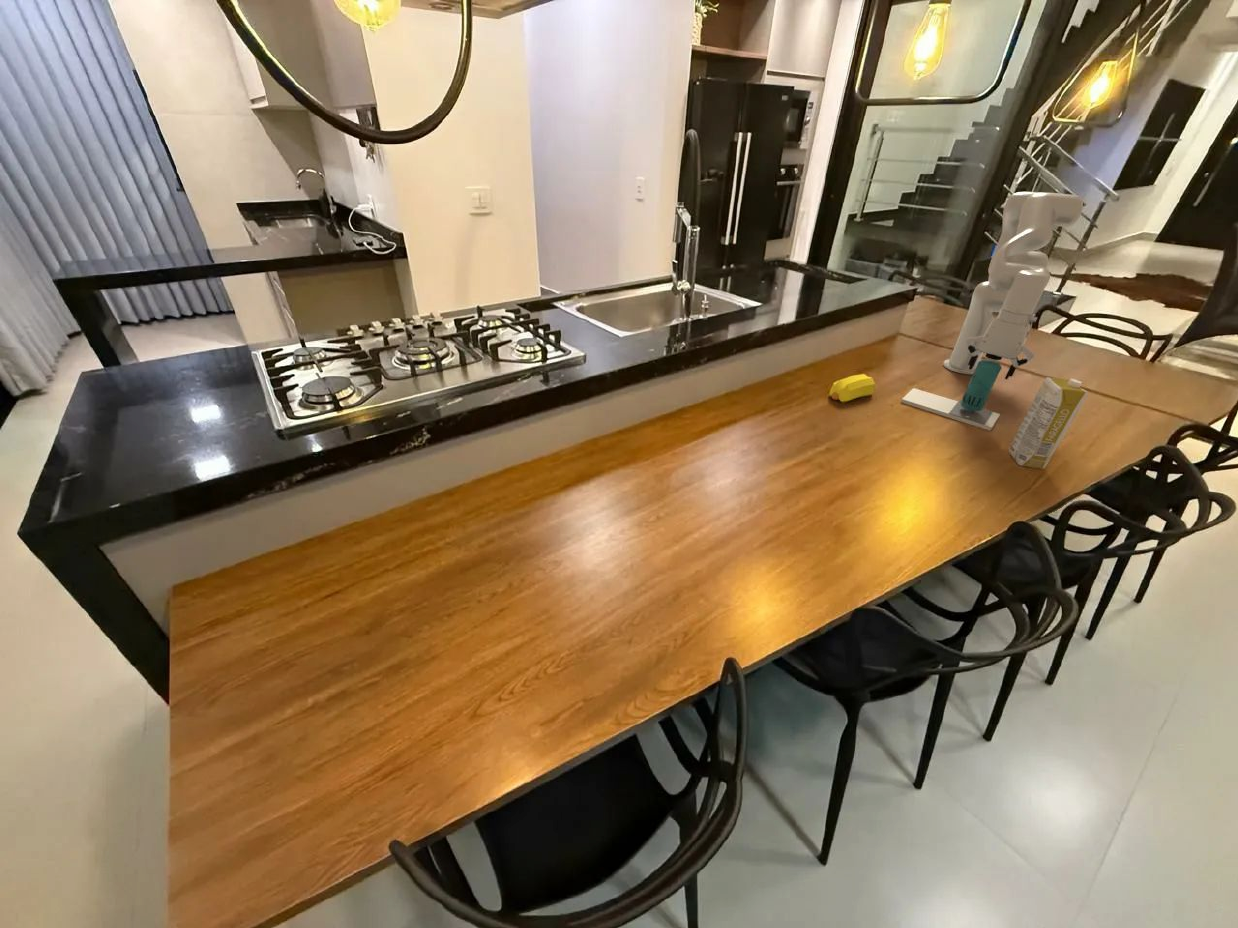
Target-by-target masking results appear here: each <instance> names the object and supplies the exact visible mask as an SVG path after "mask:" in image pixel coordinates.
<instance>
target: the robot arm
mask: <svg viewBox="0 0 1238 928" xmlns="http://www.w3.org/2000/svg"><path fill="white" fill-rule="evenodd" d="M1083 209H1084V200H1083V198H1082V196H1080V195H1078V194H1069V193H1056V192H1038V191H1018V192H1014V193H1013V194H1010V196H1008V198H1007V199H1006V201H1005V205H1004V207H1003V212H1002V227H1001V228H1002V231H1001V233H1000V237H999V239H998V241H997V244H996V247H995V250H994V253H993V255H992V257H991V260H990V263H989V267H988V270H987V271H988V274H989V275H988V278H987V279H988V281H982V282H980V283H979V284H977V286H976V287H974V291H973V293H972V296H971V300H970V305H969V308H968V312H967V315H966V318H965V320H964V322H963V325H962V327H961V330H960V333H959V336H958V338H957V340H956V342H955V345H954V348H953V350H952V353H951V354H950V358H948V359H945V360H944V361H943V362H942V365H943V367H944V368H945V369H947V370H950V371H952V372H954V373H958V374H963V375H968V376H969V375H971V376H972V374H973V373H974V371H975V369H976V367H977V365H978V362H979V361H981V360H982V358H983V355H984V354H994V355H996V356H999V357H1002V359H1007V360H1010V362H1011V364H1010V367H1009V369H1008V370H1007V373H1006V375H1005V377H1004V380H1009V378H1010V377H1013V376H1014V373H1015V372H1016V369H1017V368H1018V367H1020V366H1022V365H1025V364H1028V362H1029V361H1031V360H1032V359H1033V358H1035V357H1036V353H1034V352H1033V351H1032V350H1031V349H1030V348H1028V347H1027V345H1025V343H1026V341H1027V338H1028V337H1029V334H1030V333H1029V332H1030V329H1031V324H1030V323H1032V322H1033V323H1036V321H1037V319H1038V316H1035V315H1034V312H1035V310H1036V308H1037V305H1038V303H1039V301H1040V299H1041V296H1042V294H1043V293H1044V291H1045V288H1046V287H1047V285H1048V283H1049V282H1050V279H1051V273H1050V270H1049V269H1048V268H1047V267H1048V266H1049V264H1048V263H1049V257H1048V255H1047V254H1046V253H1045V252H1041V251H1038V250H1040V249H1042V248H1043V247H1045V246H1047V244H1048V243H1050V241H1051V239H1052V235H1053V231H1054V230H1053V229H1054V227H1062V228H1070V227H1072V226H1074V225H1075V224H1076V223H1077V222H1078V221H1079V218H1080V217H1081V215H1082V212H1083ZM994 312H995V313H998V315H997V316H995V317H994V315H993V313H994ZM1021 352H1022V353H1024V355H1026V356H1025V357H1024V358H1022V359H1019V355H1020V354H1021Z"/></svg>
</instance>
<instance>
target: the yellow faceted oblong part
mask: <svg viewBox="0 0 1238 928" xmlns="http://www.w3.org/2000/svg"><path fill="white" fill-rule="evenodd" d="M875 387H876V382H875V381H874V377H871V376H868V375H866V374H865V373H862V374H855V375H850V376H847V377H844V378H842V379H838V380H837V381H835V382H833V384H832V386H831V388H830V390H829V397H831V398H832V400H835V401H838V400H839V401H840V402H841V403H847V402H850V401H853V400H856V399H858V398H859V399H860V398H865V397H868V396H871V395H873V394H874V393H875Z"/></svg>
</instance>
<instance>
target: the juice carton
mask: <svg viewBox="0 0 1238 928" xmlns="http://www.w3.org/2000/svg"><path fill="white" fill-rule="evenodd" d="M1081 385H1082V381H1080V380H1078V379H1074V378H1070V379H1068V378H1061V377H1060V378H1059V377H1050V376H1049V377H1046V378H1045V379H1044V381H1043V382H1042V384H1041V386H1040V387H1039V389H1038V391H1037V393H1036V395H1035V396H1034V399H1033V400H1032V403H1031V405H1030V406H1029V408H1028V410H1027V412H1026V413H1025V416H1024V418H1023V420H1022V421H1021V424H1020V426H1019V428H1018V430H1017V432H1015V433H1016V434H1015V436H1014V438H1013V439H1012V441H1011V443H1010V446H1009V448H1008V452H1009V454H1010V456H1012V457H1013V459H1014V460H1015V462H1016V463H1017V465H1019V466H1021V467H1025V468H1026V467H1028V468H1033V469H1045V468H1046V467H1047V466H1048V463H1049V462H1050V461H1051V460H1052V458H1053V456H1054V454H1055V453H1056V450H1058V448H1059V446H1060V443H1062V440H1063V439H1064V437H1065V435H1066V433H1067V432H1068V431H1069V428H1070V427H1071V425H1072V422H1073V421H1074V419H1075V417H1076V416H1077V415H1078V413H1079V411H1080V409H1081V407H1082V405H1083V403H1084V402H1085V400H1086V398H1087V395H1088V394H1089V393H1088V391H1087V390H1085V389H1083V388H1081V387H1080V386H1081Z"/></svg>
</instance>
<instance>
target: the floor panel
mask: <svg viewBox="0 0 1238 928" xmlns="http://www.w3.org/2000/svg"><path fill="white" fill-rule="evenodd" d="M900 403H902V404H905V405H908V406H911V407H914V408H917V409H920V410H923V411H927V412H930V413H934V414H936V415H938V416H943V417H946V418H948V419H953V420H955V421H958V422H962V423H964V424H968V425H971V426H974V427H977V428H981V429H984V430H986V431H991V430H992V429H993V427H994V426H995V424H996V423H997V421H998V419H999V418H1000V415H1001V414H1000V413H998V412H994V410H990V409H986V408H983V409H982V410H981V411H971V410H967V409H965V408H963V407H962V406H961V401H959V400H954V399H951V398H948V397H944V396H941V395H938V394H935V393H931V392H928V391H924V390H921V389H918V388H916V387H914V388H912V389H911V390H910V391H909V392H908V393H906V395H904V397H902V399H901V401H900Z"/></svg>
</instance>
